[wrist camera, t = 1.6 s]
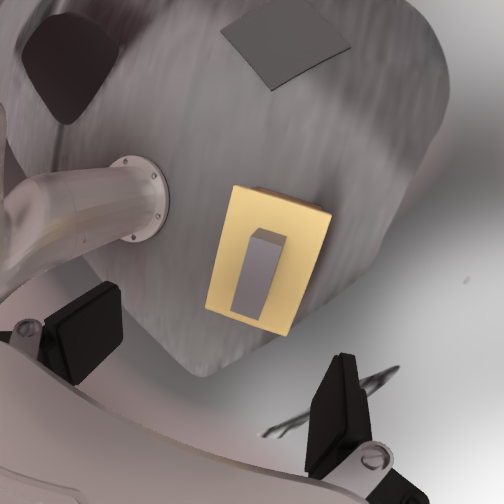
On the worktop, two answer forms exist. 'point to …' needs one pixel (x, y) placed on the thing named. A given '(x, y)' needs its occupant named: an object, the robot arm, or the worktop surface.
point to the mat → (284, 40)
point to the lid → (265, 259)
